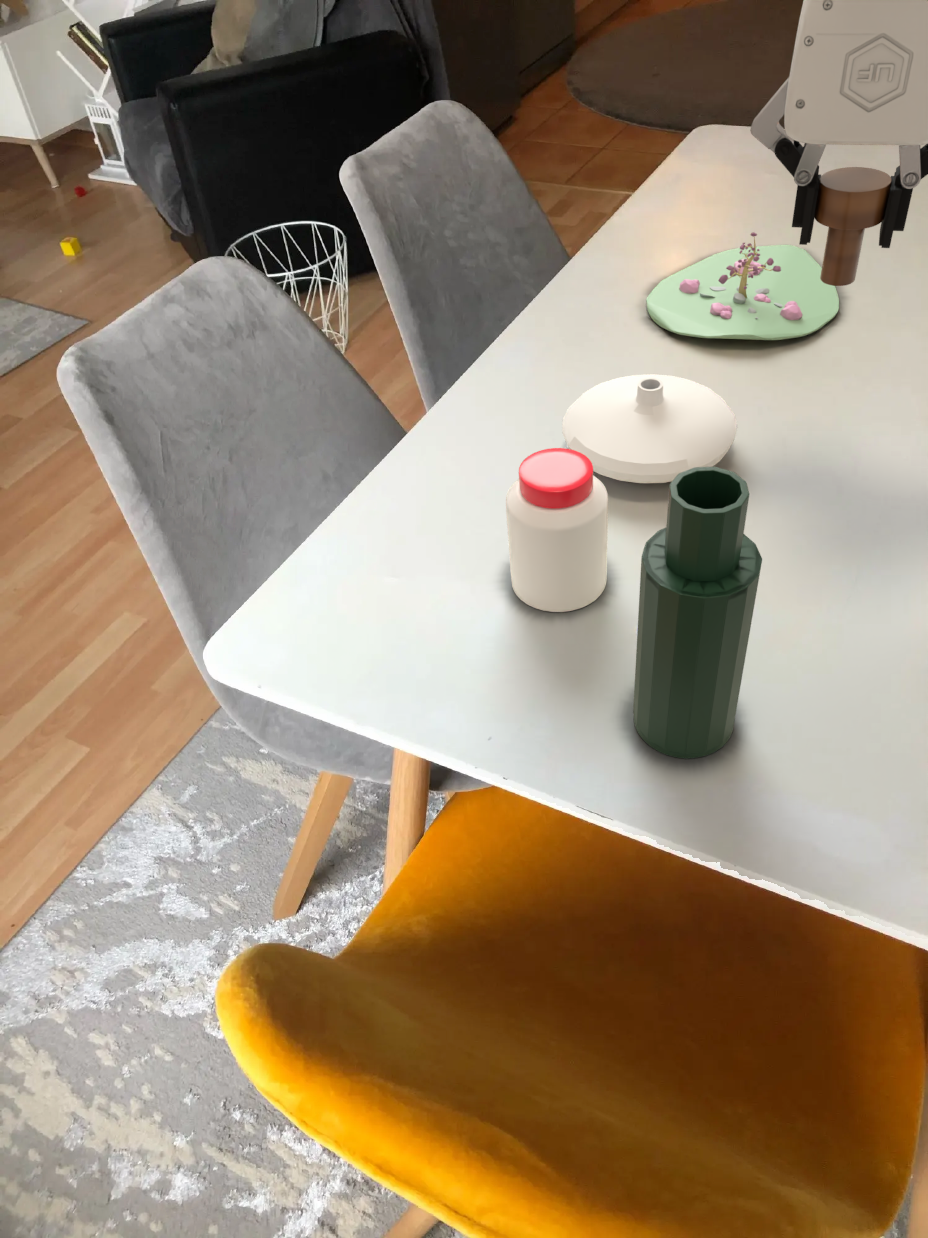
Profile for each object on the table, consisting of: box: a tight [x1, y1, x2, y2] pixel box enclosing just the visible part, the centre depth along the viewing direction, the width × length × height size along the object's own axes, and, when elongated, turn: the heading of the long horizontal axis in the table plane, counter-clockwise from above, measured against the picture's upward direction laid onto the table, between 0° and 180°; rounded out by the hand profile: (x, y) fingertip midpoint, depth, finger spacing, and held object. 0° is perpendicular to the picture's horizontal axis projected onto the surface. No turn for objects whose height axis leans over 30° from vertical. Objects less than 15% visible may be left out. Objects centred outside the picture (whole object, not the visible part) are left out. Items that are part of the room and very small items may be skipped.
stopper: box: [814, 166, 892, 287], centre depth 67 cm, size 5×5×7 cm
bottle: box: [632, 466, 763, 759], centre depth 60 cm, size 7×7×20 cm
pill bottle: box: [505, 447, 609, 613], centre depth 74 cm, size 8×8×11 cm
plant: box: [645, 231, 840, 341], centre depth 106 cm, size 25×21×9 cm
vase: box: [561, 373, 739, 484], centre depth 87 cm, size 16×16×7 cm
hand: (845, 235), depth 67 cm, fingers closed on stopper, 4 cm apart
